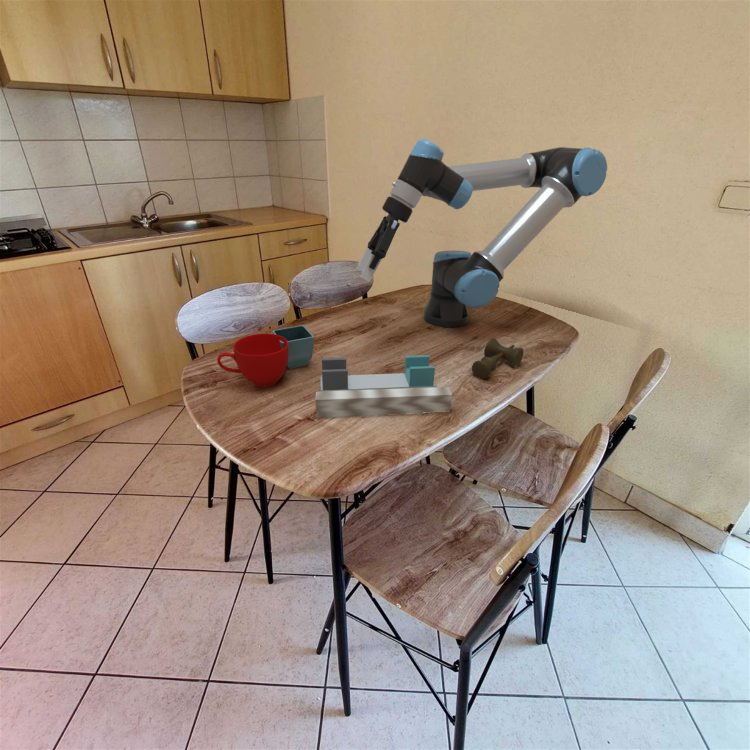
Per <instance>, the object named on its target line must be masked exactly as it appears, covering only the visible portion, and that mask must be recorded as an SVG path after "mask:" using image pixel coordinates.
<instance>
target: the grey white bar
mask: <svg viewBox="0 0 750 750" xmlns="http://www.w3.org/2000/svg"><path fill="white" fill-rule="evenodd" d="M452 399H453V394H452V391H451V390H450V387H449V386H435V387H430V388H401V389H373V390H345V391H321V390H319V391H315V412H316V413H315V414H316V419H324V418H325V419H326V418H327V419H328V418H346V417H347V418H348V417H352V418H353V417H354V416H355V417H371V416H370V415H379V416H389V415H388V414H403V415H407V414H406V413H423V412H441V411H442V412H443V411H450V412H451V406H452V402H453V401H452Z"/></svg>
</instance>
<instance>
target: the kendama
mask: <svg viewBox="0 0 750 750" xmlns="http://www.w3.org/2000/svg"><path fill="white" fill-rule="evenodd" d="M514 347H515V348H514ZM483 351H484V352H483V355H484V356H483V357H481V359H480V360H476V361H474V362H473V363H472V365H471V372H472V374H473V375H474V377H476V376H477V377H476V378H478V377H480V378H479V379H481V378H483V379H482V380H486V379H488V377H489V376H490V374H491V373H493V372H494V371H496V368H497V364H498V363H499V361H500V360H505V361H507V363H508V364H509V365H510V366H511V367H512V366H513V368H516V367H515V366H517V365H518V366H519V365H520V364H521V362H522V360H523V357H524V348H522V347H516V346H515V344H512V345H510V346H508V347H506V346H503V345H502V344H500V342H499V341H498V340H497V339H496V338H495V337H492V338H490V339H489V340H488V342H487V343H486V345H485V348H484V350H483ZM518 366H517V367H518Z"/></svg>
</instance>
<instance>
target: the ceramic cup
mask: <svg viewBox="0 0 750 750" xmlns="http://www.w3.org/2000/svg"><path fill="white" fill-rule="evenodd" d="M279 340H280V341H282V342H284V348H283V349H282V348H281V345H280V341H279ZM232 347H233V348H232V349H233V353H232V352H227V351H225V352H221V353H220V354H219V355H218V356H217V358H216V360H217V361H216V362H217V364H218V366H219V368H221V369H222V370H223V371H226V372H229V373H235V374H241V375H242V376H243V377H244V378H245V379H247V381H249V382H250V383H251V384H252V385H254V386H255V387H269V386H272V385H275V384H277V383H278V381H279V380H280V379H281V377H282V376H283V375H284V374H285V372H286V369H287V368H288V366H287V363H288V356H289V345H288V341H287V340H286V339H285V338H284V337H282V336H279V335H275V334H273V333H255V334H250V335H246V336H244V337H241V338H239V339H237V340H236V341H235V342H234V343H233V346H232ZM223 357H230V358H232V359H233V360H234V361H235V364H236V365H237V368H232V367H227V366H225V365H224V364H223V363H222V362H221V359H222V358H223Z"/></svg>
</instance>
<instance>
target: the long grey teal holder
mask: <svg viewBox="0 0 750 750" xmlns="http://www.w3.org/2000/svg"><path fill="white" fill-rule="evenodd" d="M404 357H405V358H404V373H403V372H402V373H400V372H399V373H378V374H377V373H376V374H371V373H370V374H352V375H351V374H349V371H348V368H347V357H332V358H331V357H330V358H329V357H327V358H326V357H325V358H324V357H323V358H321V366H322V367H321V376H320V391H345V390H373V389H401V388H430V387H436V384H435V374H436V373H435V371H436V367H435V366H434V365H430V355H427V354H426V355H425V354H422V355H405V356H404Z"/></svg>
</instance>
